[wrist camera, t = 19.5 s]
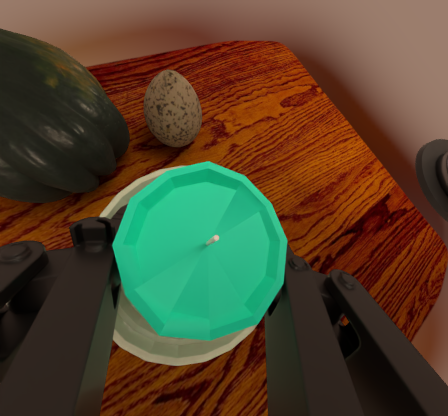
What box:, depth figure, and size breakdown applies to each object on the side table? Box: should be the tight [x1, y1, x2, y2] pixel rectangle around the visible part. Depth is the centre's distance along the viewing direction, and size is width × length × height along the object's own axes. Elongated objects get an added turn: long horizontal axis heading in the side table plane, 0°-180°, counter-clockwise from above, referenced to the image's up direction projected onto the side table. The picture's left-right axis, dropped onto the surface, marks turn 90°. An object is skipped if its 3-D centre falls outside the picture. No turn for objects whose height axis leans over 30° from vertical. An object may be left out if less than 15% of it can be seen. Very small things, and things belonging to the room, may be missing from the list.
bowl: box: [99, 166, 264, 366], centre depth 21 cm, size 19×19×6 cm
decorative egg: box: [144, 70, 202, 147], centre depth 23 cm, size 7×7×10 cm
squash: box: [0, 29, 130, 203], centre depth 18 cm, size 14×15×15 cm
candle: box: [112, 161, 287, 341], centre depth 10 cm, size 6×6×12 cm
